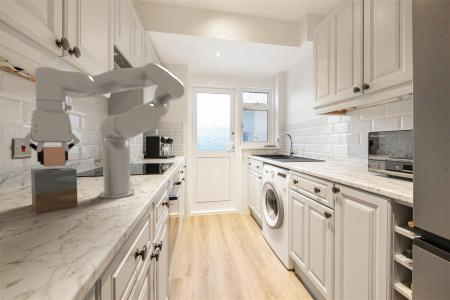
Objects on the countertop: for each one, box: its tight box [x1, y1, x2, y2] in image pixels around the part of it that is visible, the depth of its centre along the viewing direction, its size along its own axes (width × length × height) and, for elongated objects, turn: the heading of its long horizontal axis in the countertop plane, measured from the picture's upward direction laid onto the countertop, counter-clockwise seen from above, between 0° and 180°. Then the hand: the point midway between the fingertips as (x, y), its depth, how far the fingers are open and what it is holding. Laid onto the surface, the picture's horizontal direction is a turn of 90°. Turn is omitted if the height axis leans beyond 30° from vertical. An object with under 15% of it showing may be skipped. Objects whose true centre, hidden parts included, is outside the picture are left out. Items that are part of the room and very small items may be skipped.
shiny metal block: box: [30, 165, 79, 215], centre depth 68 cm, size 14×10×12 cm
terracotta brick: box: [42, 146, 66, 168], centre depth 68 cm, size 8×5×6 cm, turn 46°
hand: (53, 163), depth 68 cm, fingers closed on terracotta brick, 5 cm apart
